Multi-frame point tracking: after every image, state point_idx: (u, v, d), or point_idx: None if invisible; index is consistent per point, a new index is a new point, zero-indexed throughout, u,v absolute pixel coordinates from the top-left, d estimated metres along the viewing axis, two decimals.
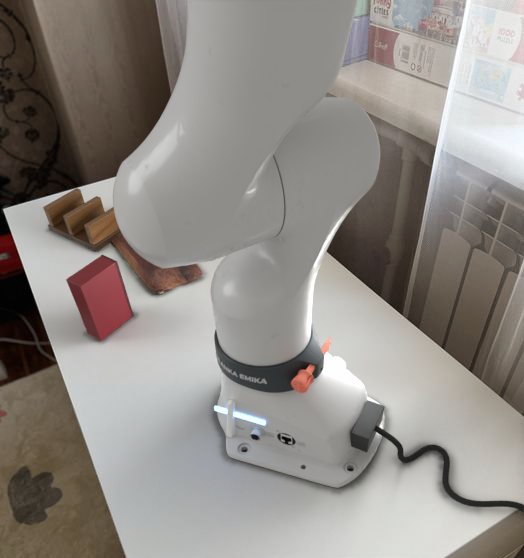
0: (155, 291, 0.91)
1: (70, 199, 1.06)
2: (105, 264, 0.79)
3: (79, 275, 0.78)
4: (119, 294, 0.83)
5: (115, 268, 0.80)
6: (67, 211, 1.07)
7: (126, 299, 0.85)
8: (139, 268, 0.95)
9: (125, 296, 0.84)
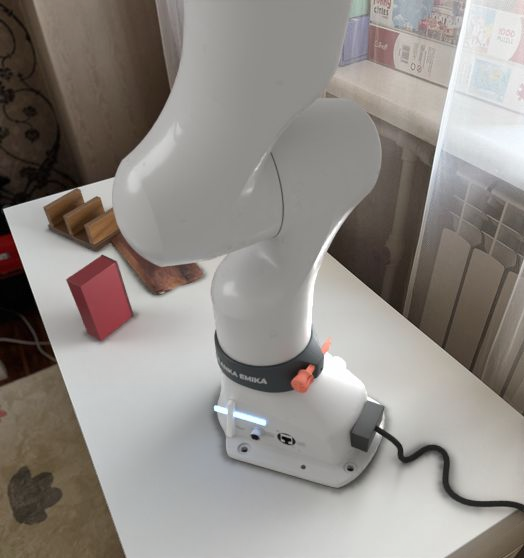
0: (155, 291, 0.91)
1: (70, 199, 1.06)
2: (105, 264, 0.79)
3: (79, 275, 0.78)
4: (119, 294, 0.83)
5: (115, 268, 0.80)
6: (67, 211, 1.07)
7: (126, 299, 0.85)
8: (139, 268, 0.95)
9: (125, 296, 0.84)
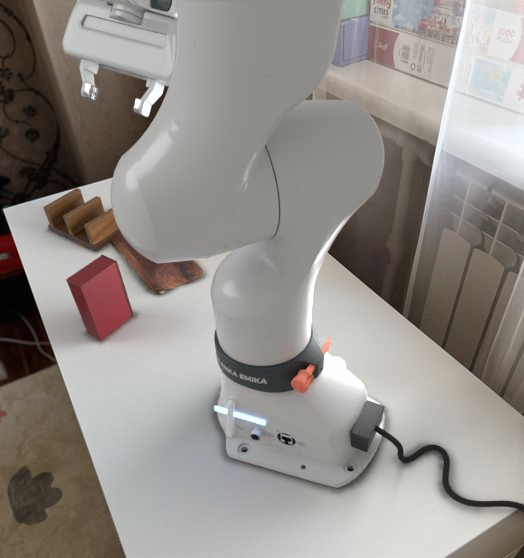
0: (156, 290, 0.91)
1: (70, 199, 1.06)
2: (105, 264, 0.79)
3: (79, 275, 0.78)
4: (119, 294, 0.83)
5: (115, 268, 0.80)
6: (67, 211, 1.07)
7: (126, 299, 0.85)
8: (140, 268, 0.95)
9: (125, 296, 0.84)
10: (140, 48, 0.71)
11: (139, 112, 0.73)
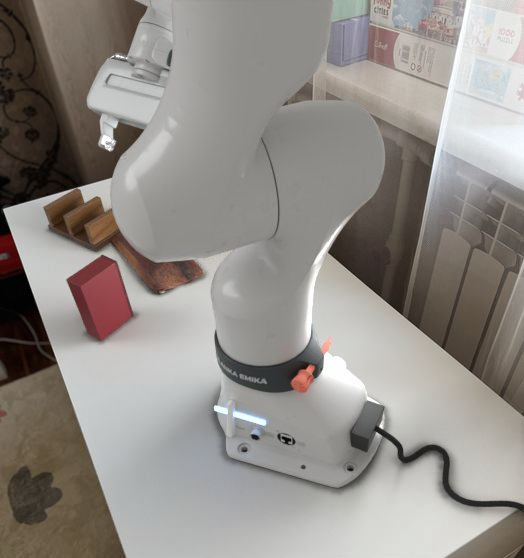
0: (156, 290, 0.91)
1: (70, 199, 1.06)
2: (105, 264, 0.79)
3: (79, 275, 0.78)
4: (119, 294, 0.83)
5: (115, 268, 0.80)
6: (67, 211, 1.07)
7: (126, 299, 0.85)
8: (140, 268, 0.95)
9: (125, 296, 0.84)
10: (155, 103, 0.73)
11: None
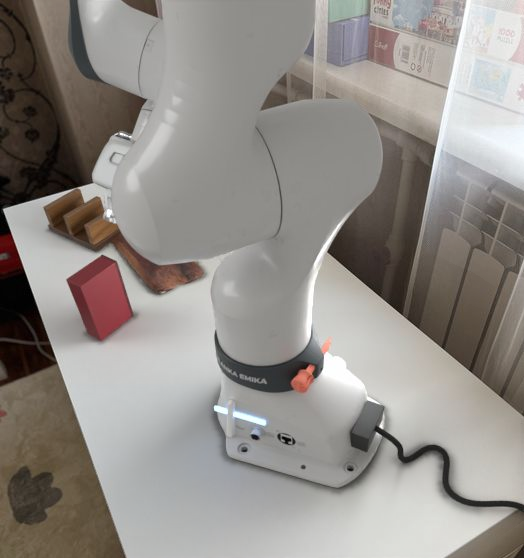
0: (157, 291, 0.91)
1: (70, 199, 1.06)
2: (105, 264, 0.79)
3: (79, 275, 0.78)
4: (119, 294, 0.83)
5: (115, 268, 0.80)
6: (67, 211, 1.07)
7: (126, 299, 0.85)
8: (140, 268, 0.95)
9: (125, 296, 0.84)
10: None
11: None
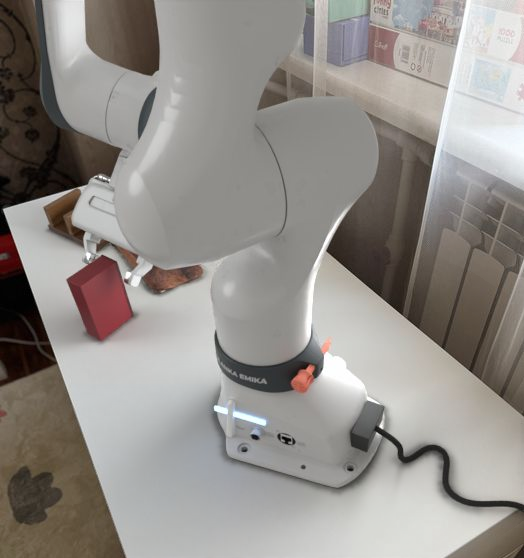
0: (156, 290, 0.91)
1: (70, 199, 1.06)
2: (105, 264, 0.79)
3: (79, 275, 0.78)
4: (119, 294, 0.83)
5: (115, 268, 0.80)
6: (67, 211, 1.07)
7: (126, 299, 0.85)
8: None
9: (125, 296, 0.84)
10: None
11: (128, 283, 0.79)
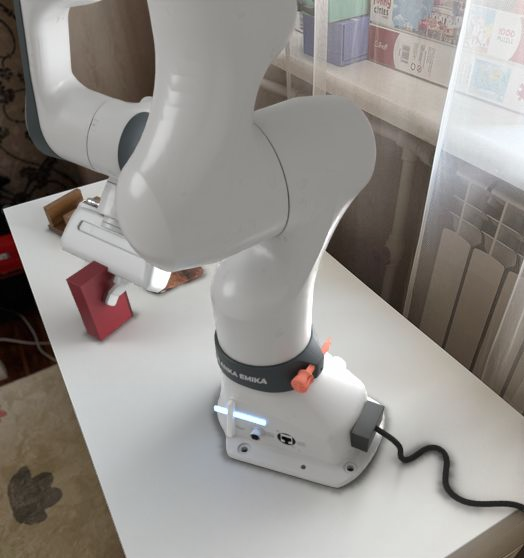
0: None
1: (70, 199, 1.06)
2: None
3: (79, 275, 0.78)
4: None
5: None
6: (67, 211, 1.07)
7: (126, 299, 0.85)
8: None
9: (125, 296, 0.84)
10: (122, 256, 0.78)
11: (105, 303, 0.80)
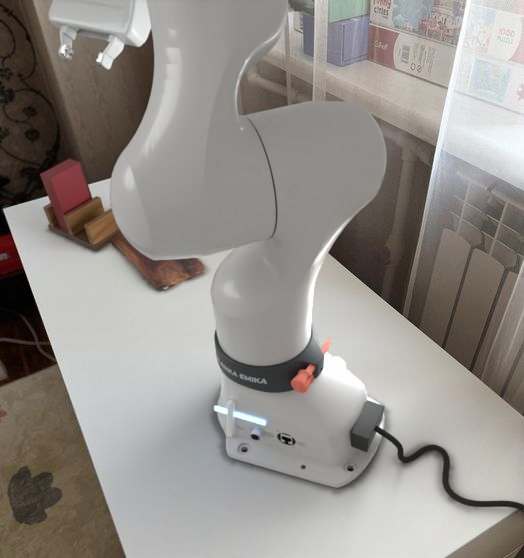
0: (159, 287, 0.91)
1: None
2: (71, 164, 1.00)
3: (50, 171, 0.98)
4: (84, 192, 1.03)
5: (79, 168, 1.00)
6: None
7: (90, 197, 1.05)
8: (141, 265, 0.95)
9: (89, 194, 1.05)
10: (105, 10, 0.83)
11: (100, 63, 0.84)
